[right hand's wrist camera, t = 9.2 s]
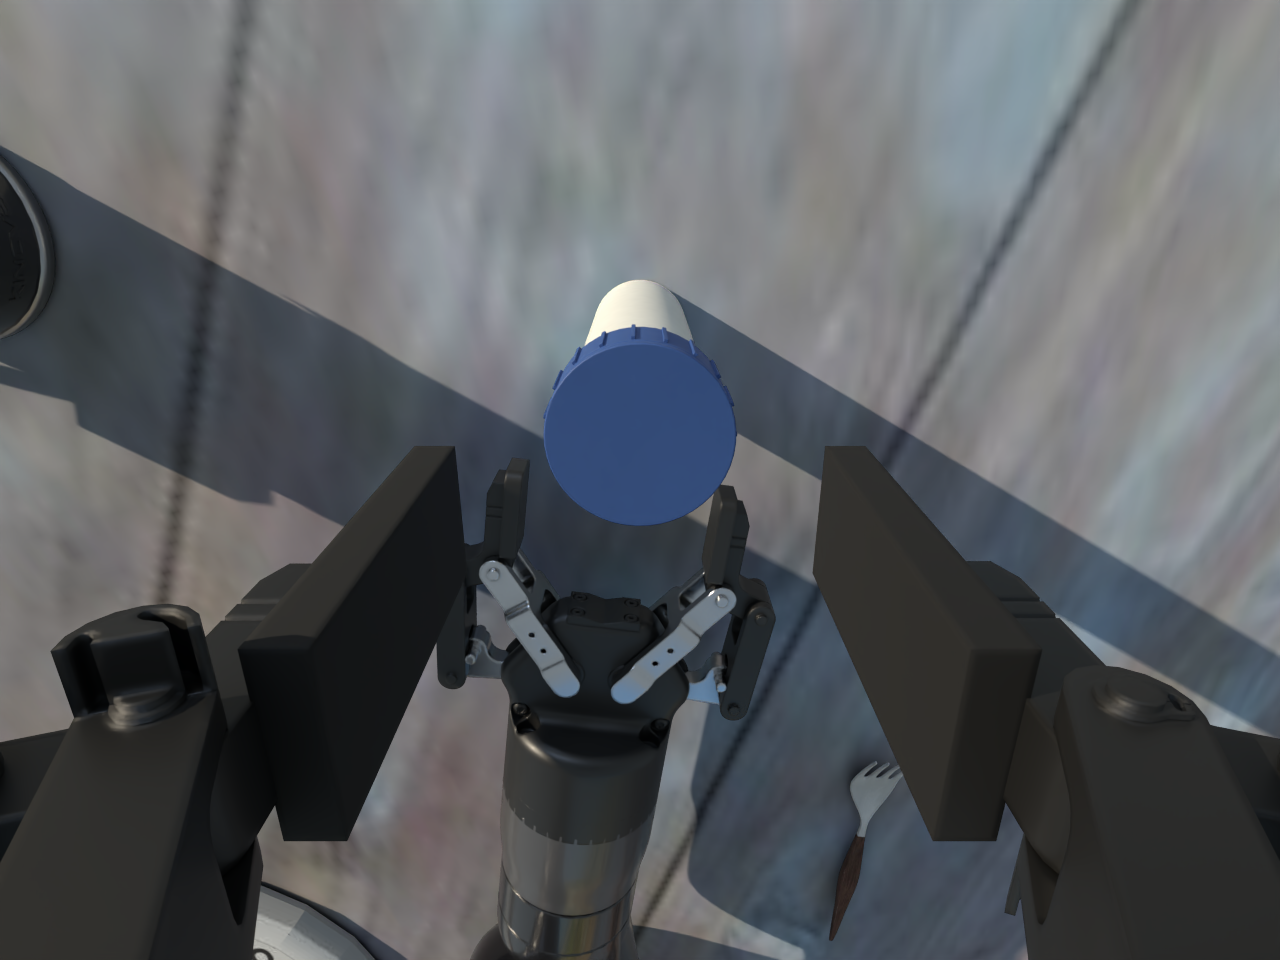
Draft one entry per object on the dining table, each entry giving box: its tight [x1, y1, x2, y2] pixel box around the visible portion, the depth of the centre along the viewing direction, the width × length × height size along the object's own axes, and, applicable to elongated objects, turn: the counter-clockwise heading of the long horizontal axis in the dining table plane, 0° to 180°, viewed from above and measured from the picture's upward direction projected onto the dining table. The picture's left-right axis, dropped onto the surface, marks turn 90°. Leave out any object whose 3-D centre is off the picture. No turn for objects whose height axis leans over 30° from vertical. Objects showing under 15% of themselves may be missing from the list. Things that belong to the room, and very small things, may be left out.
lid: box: [543, 324, 737, 526], centre depth 19 cm, size 5×5×2 cm
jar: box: [585, 280, 695, 345], centre depth 26 cm, size 4×4×16 cm
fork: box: [829, 761, 903, 941], centre depth 44 cm, size 3×16×2 cm, turn 174°
